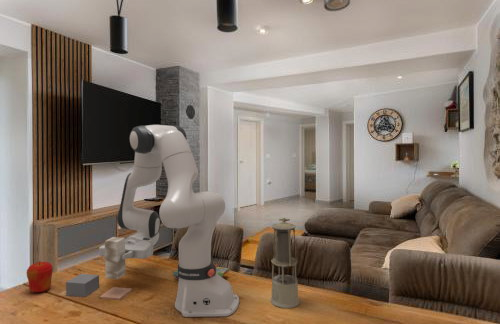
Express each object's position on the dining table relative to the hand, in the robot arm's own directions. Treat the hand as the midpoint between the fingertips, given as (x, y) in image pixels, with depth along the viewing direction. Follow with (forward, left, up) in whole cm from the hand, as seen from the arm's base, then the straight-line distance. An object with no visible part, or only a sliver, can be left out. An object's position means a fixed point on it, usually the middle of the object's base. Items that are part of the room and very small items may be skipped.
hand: (113, 257), depth 118 cm
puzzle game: (-27, -20, -15) cm, 37 cm away
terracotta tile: (0, -1, -14) cm, 14 cm away
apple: (+31, +1, -14) cm, 34 cm away
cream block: (0, -1, -7) cm, 8 cm away
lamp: (-63, -7, -14) cm, 65 cm away
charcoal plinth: (+14, -1, -14) cm, 20 cm away
